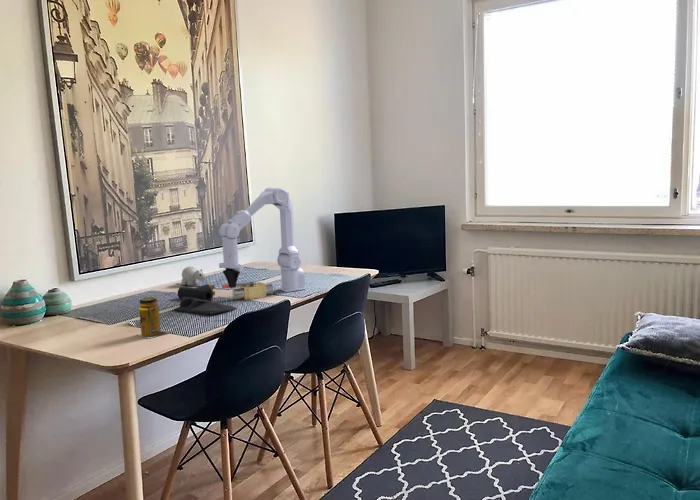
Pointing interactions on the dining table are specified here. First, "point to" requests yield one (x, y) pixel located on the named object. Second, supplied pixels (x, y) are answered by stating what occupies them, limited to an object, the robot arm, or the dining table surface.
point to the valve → (252, 291)
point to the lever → (240, 284)
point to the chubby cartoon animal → (192, 276)
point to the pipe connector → (197, 292)
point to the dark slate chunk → (202, 306)
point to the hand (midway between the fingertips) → (232, 287)
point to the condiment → (150, 318)
